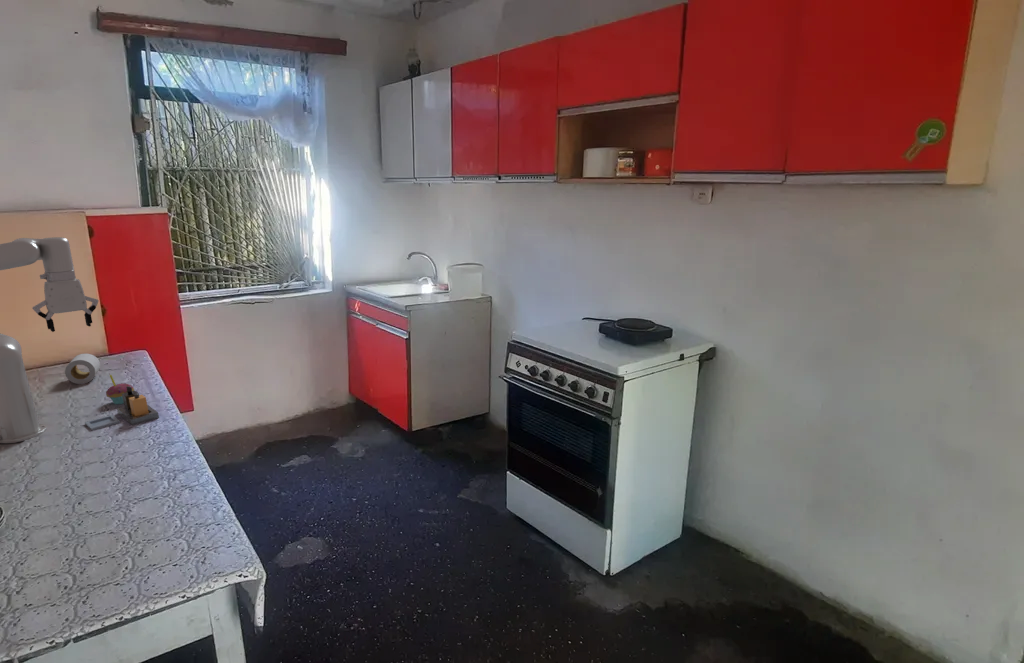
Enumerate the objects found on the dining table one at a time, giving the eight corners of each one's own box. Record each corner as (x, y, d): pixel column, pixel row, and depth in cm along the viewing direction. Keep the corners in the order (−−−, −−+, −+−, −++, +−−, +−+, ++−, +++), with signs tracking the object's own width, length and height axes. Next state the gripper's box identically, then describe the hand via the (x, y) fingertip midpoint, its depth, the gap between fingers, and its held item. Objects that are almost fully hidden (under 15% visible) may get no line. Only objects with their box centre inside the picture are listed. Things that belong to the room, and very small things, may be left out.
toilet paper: (73, 378, 243) (68, 355, 240) (102, 374, 247) (97, 351, 244) (67, 385, 234) (62, 362, 231) (97, 381, 238) (92, 358, 235)
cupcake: (113, 409, 209) (106, 377, 206) (104, 403, 214) (97, 372, 211) (140, 401, 215) (133, 370, 212) (130, 396, 220) (124, 366, 217)
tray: (92, 431, 190) (91, 428, 189) (85, 425, 195) (84, 422, 195) (120, 424, 196) (119, 420, 195) (113, 417, 201) (112, 414, 200)
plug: (136, 423, 196) (131, 397, 194) (133, 419, 199) (127, 394, 196) (150, 419, 199) (145, 393, 196) (146, 416, 201) (141, 391, 199)
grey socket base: (159, 419, 199) (154, 391, 196) (132, 426, 193) (126, 398, 190) (143, 407, 209) (138, 381, 207) (118, 414, 203) (112, 387, 201)
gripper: (28, 281, 178) (40, 335, 183) (95, 274, 191) (105, 325, 195) (24, 278, 183) (35, 331, 188) (90, 272, 196) (99, 322, 200)
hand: (71, 328), depth 191 cm, fingers open, 9 cm apart
